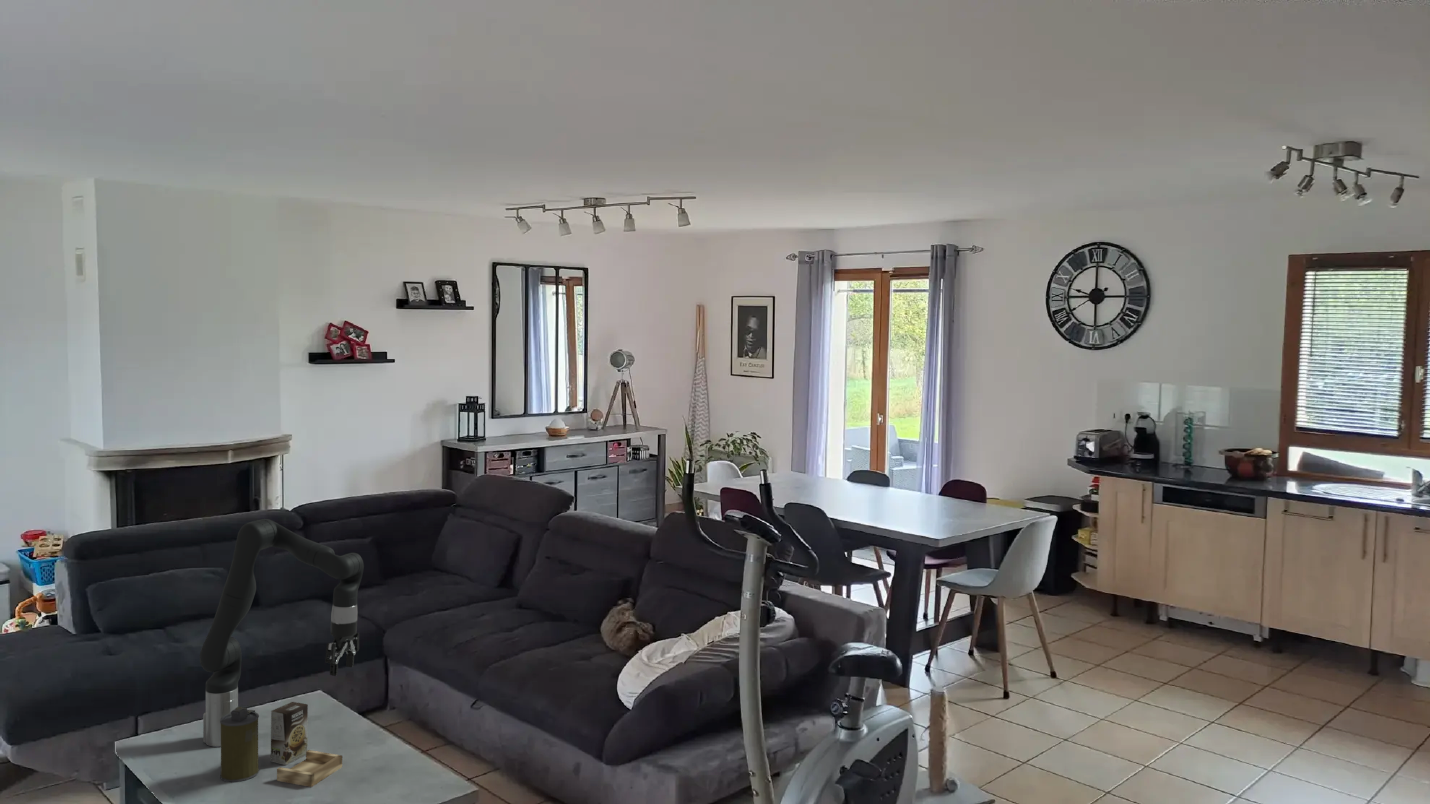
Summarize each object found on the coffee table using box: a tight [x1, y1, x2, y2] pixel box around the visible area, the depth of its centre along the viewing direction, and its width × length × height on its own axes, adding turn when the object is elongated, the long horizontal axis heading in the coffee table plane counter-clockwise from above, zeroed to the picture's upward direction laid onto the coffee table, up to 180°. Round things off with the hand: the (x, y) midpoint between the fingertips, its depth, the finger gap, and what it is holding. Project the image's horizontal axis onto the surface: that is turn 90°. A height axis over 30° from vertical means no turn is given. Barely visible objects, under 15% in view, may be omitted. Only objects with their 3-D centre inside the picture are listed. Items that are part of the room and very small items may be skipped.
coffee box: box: [270, 701, 309, 766], centre depth 308 cm, size 9×6×16 cm
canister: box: [219, 706, 260, 783], centre depth 296 cm, size 11×10×20 cm
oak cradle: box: [276, 749, 343, 788], centre depth 298 cm, size 12×14×4 cm
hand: (341, 670), depth 306 cm, fingers open, 8 cm apart
